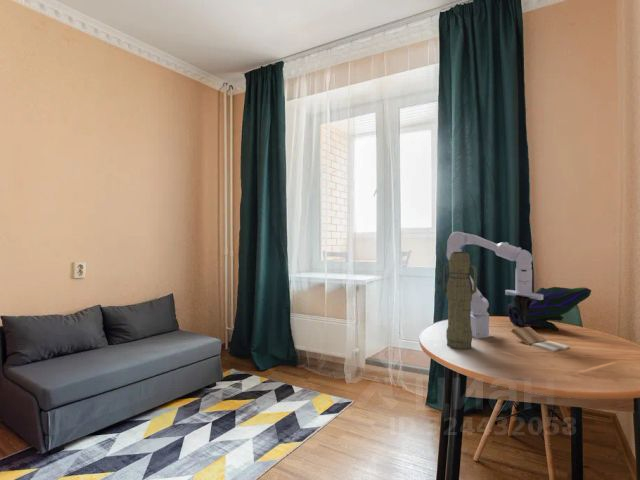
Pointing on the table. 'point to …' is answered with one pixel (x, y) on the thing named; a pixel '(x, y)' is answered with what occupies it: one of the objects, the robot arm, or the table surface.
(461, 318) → the thermos
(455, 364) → the table surface
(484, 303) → the robot arm
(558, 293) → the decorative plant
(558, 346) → the laid board
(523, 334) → the plank
